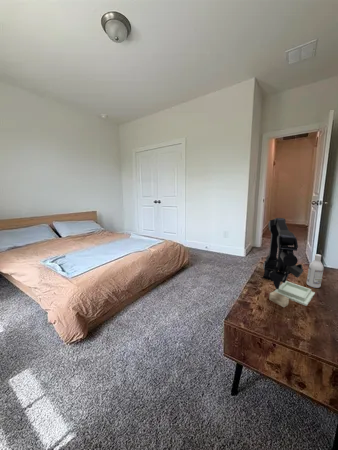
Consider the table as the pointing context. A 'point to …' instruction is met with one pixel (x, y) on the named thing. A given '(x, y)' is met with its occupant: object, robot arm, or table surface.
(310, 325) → the table surface
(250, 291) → the table surface
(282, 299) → the peg
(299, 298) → the socket board
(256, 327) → the table surface
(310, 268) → the bath foam
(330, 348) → the table surface
